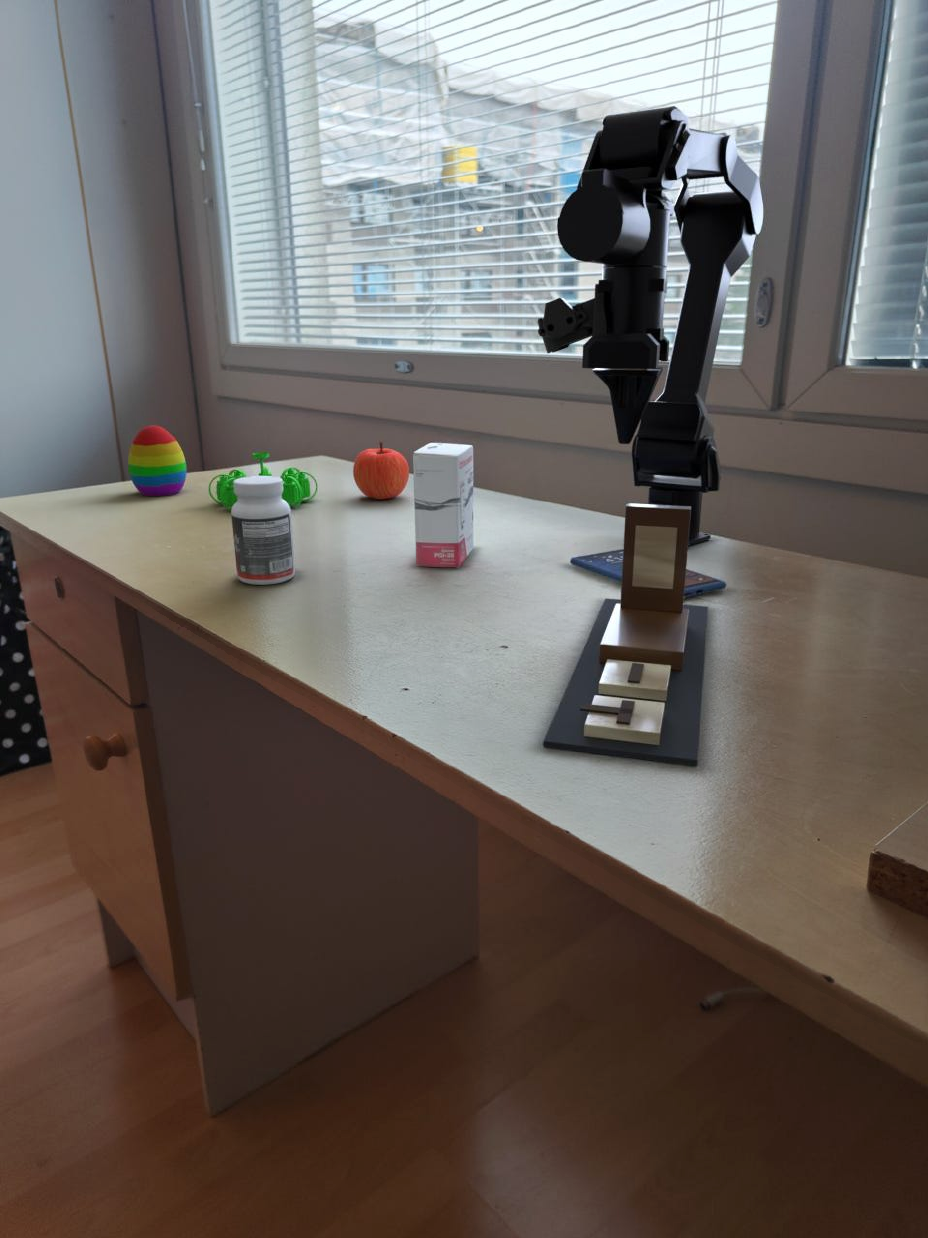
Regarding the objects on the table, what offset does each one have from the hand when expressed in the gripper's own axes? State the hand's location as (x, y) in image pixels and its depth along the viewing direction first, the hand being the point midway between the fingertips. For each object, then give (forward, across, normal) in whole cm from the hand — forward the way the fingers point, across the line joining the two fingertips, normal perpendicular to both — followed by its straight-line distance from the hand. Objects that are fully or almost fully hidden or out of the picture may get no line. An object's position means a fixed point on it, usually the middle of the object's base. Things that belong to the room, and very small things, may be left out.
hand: (624, 443), depth 83 cm
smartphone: (+13, +1, +3) cm, 13 cm away
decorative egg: (+13, -27, -71) cm, 77 cm away
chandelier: (+13, -24, -52) cm, 59 cm away
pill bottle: (+13, +10, -34) cm, 38 cm away
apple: (+13, -31, -38) cm, 51 cm away
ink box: (+13, -2, -19) cm, 23 cm away
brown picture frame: (+13, +20, +4) cm, 24 cm away
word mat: (+13, +24, +4) cm, 28 cm away
